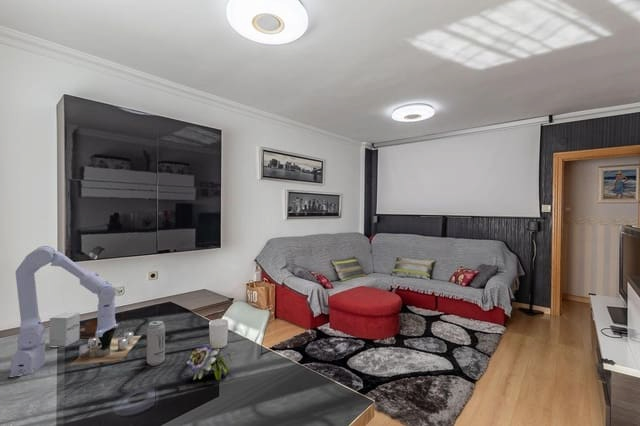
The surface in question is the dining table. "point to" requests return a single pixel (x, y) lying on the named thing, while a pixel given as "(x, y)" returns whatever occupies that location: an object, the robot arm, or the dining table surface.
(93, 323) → the cup and saucer
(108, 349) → the nut
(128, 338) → the spacers
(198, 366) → the passion flower
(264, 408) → the dining table surface
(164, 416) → the dining table surface
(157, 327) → the energy drink can
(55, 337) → the supplement box
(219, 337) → the white cup
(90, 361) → the board
